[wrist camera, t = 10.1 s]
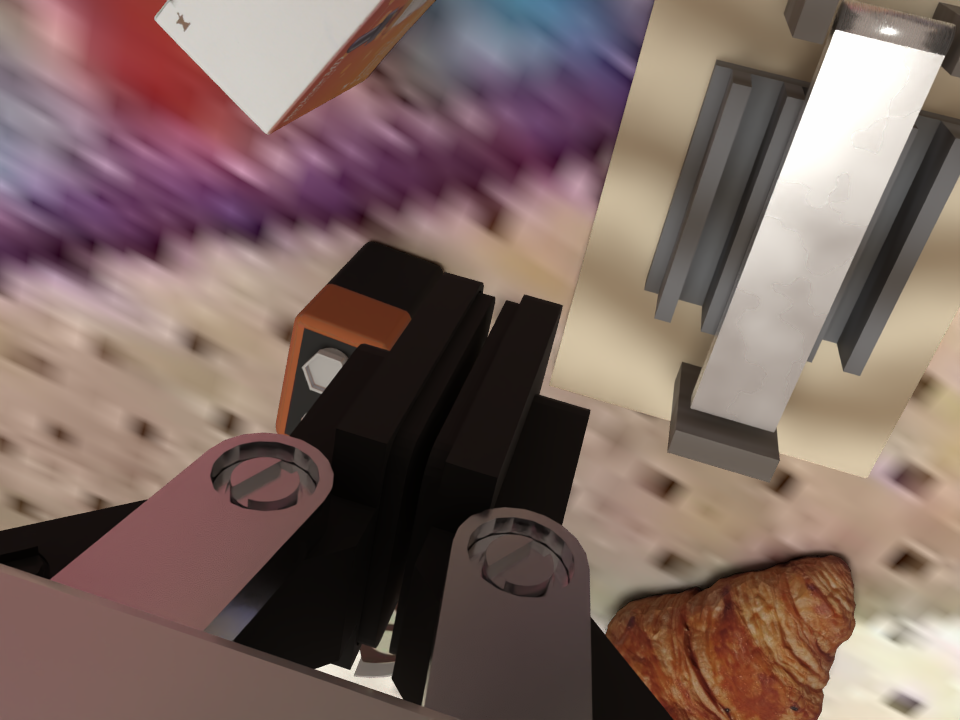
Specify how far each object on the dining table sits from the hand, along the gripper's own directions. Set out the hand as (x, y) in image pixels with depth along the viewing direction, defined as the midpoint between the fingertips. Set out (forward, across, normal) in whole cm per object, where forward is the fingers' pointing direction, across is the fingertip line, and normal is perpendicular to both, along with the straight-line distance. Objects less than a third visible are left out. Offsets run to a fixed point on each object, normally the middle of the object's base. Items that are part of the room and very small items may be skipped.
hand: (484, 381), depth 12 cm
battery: (+29, +9, +16) cm, 35 cm away
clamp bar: (+24, -8, +5) cm, 25 cm away
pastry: (+30, -13, +33) cm, 46 cm away
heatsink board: (+29, -8, +5) cm, 31 cm away
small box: (+29, +12, 0) cm, 32 cm away
